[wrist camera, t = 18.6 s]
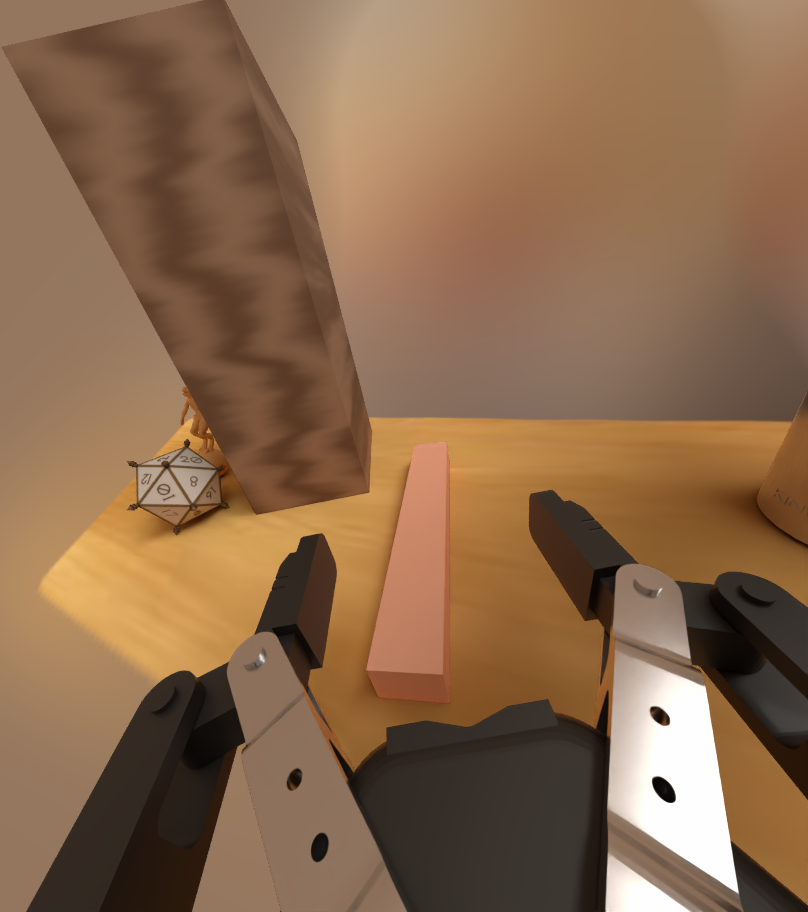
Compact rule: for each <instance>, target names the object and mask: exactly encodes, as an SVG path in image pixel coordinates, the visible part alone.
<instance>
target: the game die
mask: <svg viewBox="0 0 808 912" xmlns="http://www.w3.org/2000/svg"><path fill="white" fill-rule="evenodd" d="M184 445H185V447H183V448H181V449H178V450H176V451H173V452H170V453H168V454H165V455H163V456H160V457H157V458H155V459H152V460H150V461H147V462H144V463H142V464H139V465H138V464H137V463H136V462H134V461H127V462H128V464H129V466H132V467H136V479H137V504H133V505H130V506H129V508H128V509H127V510H135V509H137V508H138V507H140V508H142V509H144V510H146V511H148V512H150V513H151V514H153V515H155V516H157V517H159V518H161V519H163V520H165V521H166V522H168V523H170V524H172V525H174V526H175V528H174V531H173V532H174V533H175V534H176V535H177V534H178V532H180V531H179V529H180V528H179V526H180V525H182V524H184V523H186V522H188V521H190V520H192V519H194V518H196V517H198V516H200V515H202V514H204V513H206V512H208V511H210V510H212V509H214V508H216V507H218V506H219V505H221V506H222V507H224V508H230V507H229V506H228V503H227V504H226V503H223V502H222V494H221V483H220V471H222V470H224V469H225V467H226V466H223V465H221V466H219V467H218V468H217V467H216V466H214V465H213V464H211V463H210V462H209V461H207V460H206V459H204V458H203V457H201V456H200V455H199V454H197V453H196V452H194V451H193V450H192V449H190V448H189V445H190V442H189V440H188V439H187V440H186V441H185V442H184Z"/></svg>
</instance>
